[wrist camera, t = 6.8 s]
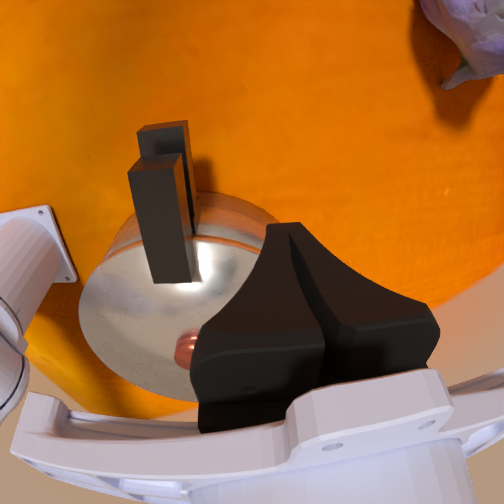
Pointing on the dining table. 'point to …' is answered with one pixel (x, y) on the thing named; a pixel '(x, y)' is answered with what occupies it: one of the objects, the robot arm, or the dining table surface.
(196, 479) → the robot arm
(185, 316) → the cooker lid
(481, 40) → the flower
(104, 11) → the dining table surface
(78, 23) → the dining table surface
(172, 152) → the cooker pot
